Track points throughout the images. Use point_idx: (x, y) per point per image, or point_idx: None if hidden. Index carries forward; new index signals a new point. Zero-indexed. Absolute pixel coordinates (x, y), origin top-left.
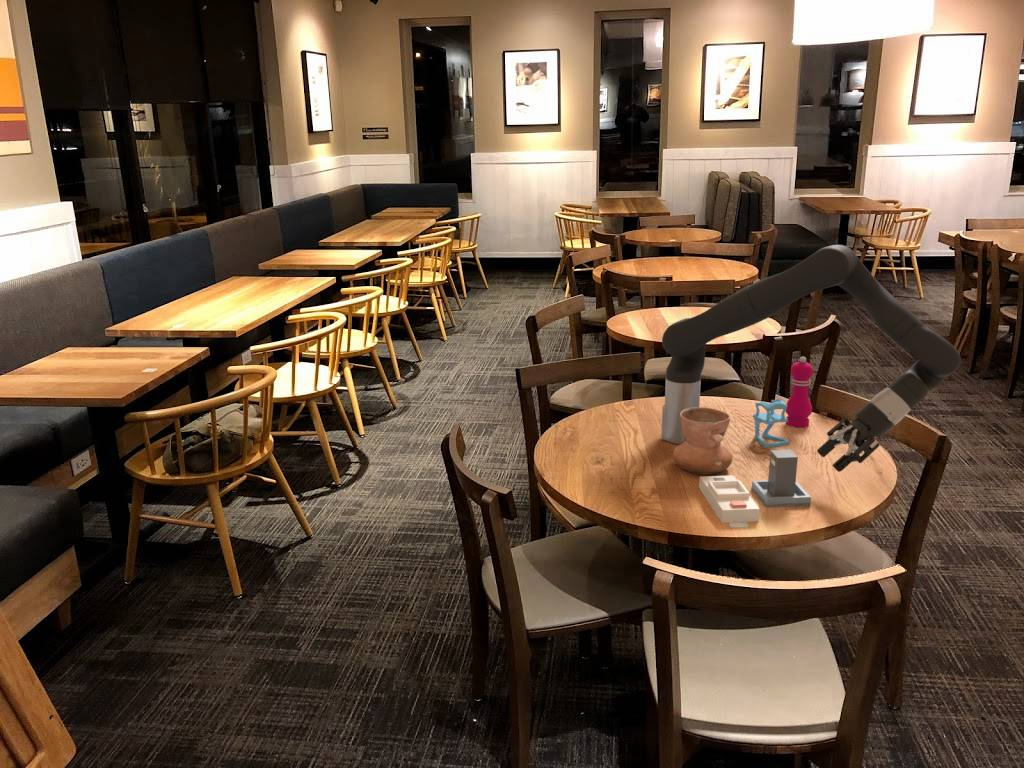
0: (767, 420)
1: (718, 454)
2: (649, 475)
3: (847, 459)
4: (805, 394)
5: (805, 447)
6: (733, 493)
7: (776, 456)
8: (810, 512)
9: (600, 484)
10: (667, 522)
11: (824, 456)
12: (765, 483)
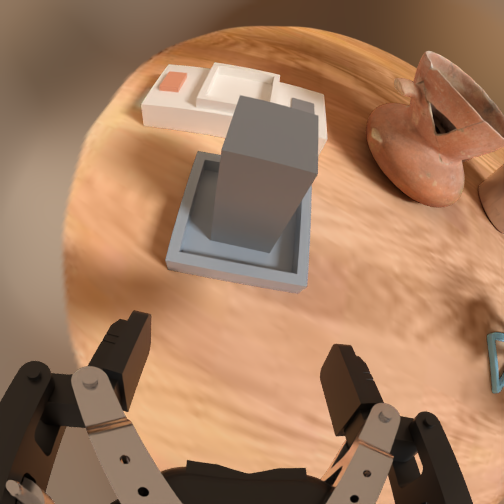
0: None
1: (400, 137)
2: (367, 93)
3: (90, 364)
4: None
5: (478, 423)
6: (208, 78)
7: (253, 98)
8: (130, 244)
9: (334, 50)
10: (203, 46)
11: (321, 378)
12: (300, 203)
